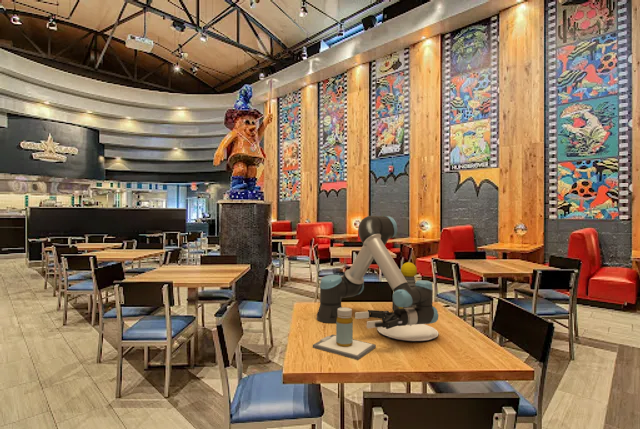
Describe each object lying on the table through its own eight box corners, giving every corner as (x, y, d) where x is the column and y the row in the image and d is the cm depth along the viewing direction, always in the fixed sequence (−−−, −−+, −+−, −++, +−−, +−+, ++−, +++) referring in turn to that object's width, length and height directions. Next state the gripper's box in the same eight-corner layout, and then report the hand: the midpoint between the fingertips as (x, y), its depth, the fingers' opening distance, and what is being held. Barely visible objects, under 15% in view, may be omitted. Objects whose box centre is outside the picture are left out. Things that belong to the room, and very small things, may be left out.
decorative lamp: (402, 307, 214) (402, 259, 214) (431, 313, 201) (431, 262, 201) (385, 313, 201) (386, 262, 201) (415, 320, 187) (415, 265, 188)
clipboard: (312, 347, 147) (312, 342, 147) (332, 336, 161) (332, 332, 161) (358, 360, 135) (358, 354, 135) (375, 347, 148) (375, 342, 148)
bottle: (335, 341, 151) (335, 307, 151) (350, 341, 152) (351, 307, 152) (337, 347, 144) (337, 311, 144) (353, 347, 145) (354, 311, 145)
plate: (388, 320, 188) (388, 317, 188) (444, 330, 173) (444, 326, 173) (367, 336, 163) (367, 332, 163) (430, 348, 148) (430, 344, 148)
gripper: (419, 334, 143) (372, 338, 138) (392, 317, 167) (350, 320, 162) (419, 316, 143) (372, 319, 138) (392, 301, 167) (351, 304, 162)
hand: (360, 320), depth 150 cm, fingers open, 13 cm apart
